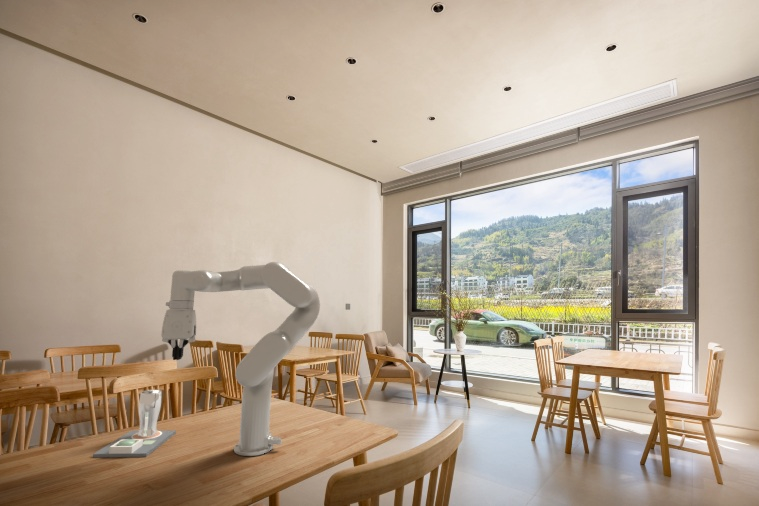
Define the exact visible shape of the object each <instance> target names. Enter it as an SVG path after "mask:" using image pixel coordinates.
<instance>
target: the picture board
mask: <svg viewBox="0 0 759 506" xmlns="http://www.w3.org/2000/svg"><path fill="white" fill-rule="evenodd" d="M138 431H139V430H130V431H128V432H126V433H125V434H123V435H122V436H119V437H118V438H117V439H115V440H114V441H112V442H110V443H109V444H107V445H105V446H103V447H102V448H100V449H99V450H97V451H95V452H94V453H93V454H92V458H140V457H141V458H146V457H148V456H149V455H150V454H152V452H154V451H155V450H156V449H158V448H159V447H160V446H162V445H163V444H164V443H166V442H167V441H168V440H170V438H172V437H174V435H176V433H177V430H173V429H172V430H157V434H156V435H155V436H152V437H147V438H140V437H138V436H137V435H138ZM128 439H133V440H135V443H134V444H133V445H131V446H119V442H120V441H123V440H128Z"/></svg>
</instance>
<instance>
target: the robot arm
mask: <svg viewBox="0 0 759 506" xmlns="http://www.w3.org/2000/svg"><path fill="white" fill-rule="evenodd" d="M263 289H265V290H266V289H270V290H272V292H274V293H275V294H277V296H278V297H280V298H281V299H283V300H284V301H285V303H287V304H288V305H290V306H292V307H293V308H294V310H293V311H292V312H291V313H290V314H289V315H288V316H287V317H286V318H285V320H284V321H283V322H282V323H281V324H280V325H279V326H278V327H277V328H276V329H275V330H273V331H270V332H268V333H266V334H265V335H264V336H263V337H261V338H260V340H259V341H258V342H256V344H255V345H254V346H253V347H252V348H251V349H250V350H249V352H247V354H246V355H245V356H244V357H243V358H242V359H241V360H240V361H239V363H237V367H236V368H235V375H234V376H235V378H236V379H235V380H236V381H237V383H238V384H239V385H240V386H242V387H243V388H242V395H241V407H240V409H241V410H240V422H239V423H240V425H239V441H238V443H236V444H235V445H234V446H233V452H234V453H235V454H236V455H239V456H243V457H253V456H254V457H255V456H261V455H264V453H265V454H266V453H269V452H271V451H270V450H273V448H274V445H277V446H279V445H282V441H283V440H282V438H280V436H273V435H272V432H271V431H270V419H271V416H270V415H271V402H272V390H273V389H272V388H273V387H272V386H273V380H274V374H275V367H277V365H278V364H279V363H281V361H282V360H283V359H284V358H285V357H287V356H288V355H289V354H290V353H291V352H292V350H293V349H294V347H295V346H296V345H297V344H298V342H299V341H301V339H302V338H303V337H304V336H305V334H307V333H308V332H309V330H310V328H312V326H313V325H314V323H315V322H316V320H317V318H318V316H319V313H320V310H321V309H320V308H321V303H320V297H319V294H318V292H317V291H316V289H315V288H314V286H312V285H311V284H308V283H305V282H304V281H302V280H301V279H299V278H298V277H297V276H295V275H294V274H293V273H292V272H291V270H290V268H289V267H288V266H287V265H285V264H283V263H281V262H278V261H270V262H268V263H266V264H259V265H258V264H257V265H245V266H242V267H240V268H238V269H236V270H230V271H229V270H228V271H211V270H204V269H200V270H176V271H173V272H172V277H171V288H170V299H169V301H167V302H165V306H166V307H168V309H166V310H165V314H164V317H163V323H162V327H161V338H162V339H161V341H162V342H163V343H168V344H169V345H170V347H171V348H172V354H171V357H172V360H173V361H180V360H182V358H183V356H184V348H185V347H186V345H188V344H190V343H195V342H196V336H197V335H196V334H197V314H196V313H197V312H196V310H195V309H194V304H195V303H194V302H195V293H196V292H202V293H221V292H232V291H233V292H234V291H251V290H263Z"/></svg>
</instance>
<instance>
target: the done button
mask: <svg viewBox="0 0 759 506" xmlns="http://www.w3.org/2000/svg"><path fill="white" fill-rule="evenodd" d="M134 443H135V440H133V439H128V440H123V441H120V442H119V446H131V445H133V444H134Z"/></svg>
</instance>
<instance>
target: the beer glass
mask: <svg viewBox="0 0 759 506" xmlns="http://www.w3.org/2000/svg"><path fill="white" fill-rule="evenodd" d="M138 402H139V403H138V417H139V428H138V430H137V431H138V435H137V436H138V437H140V438H147V437H152V436H155V435H156V434H157V431H158V429H157V426H158V425H157V422H158V420H159V419H158V418H159V415H160V411H161V408H162V390H160V389H147V390H143V391H140V396H139V401H138Z"/></svg>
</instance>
